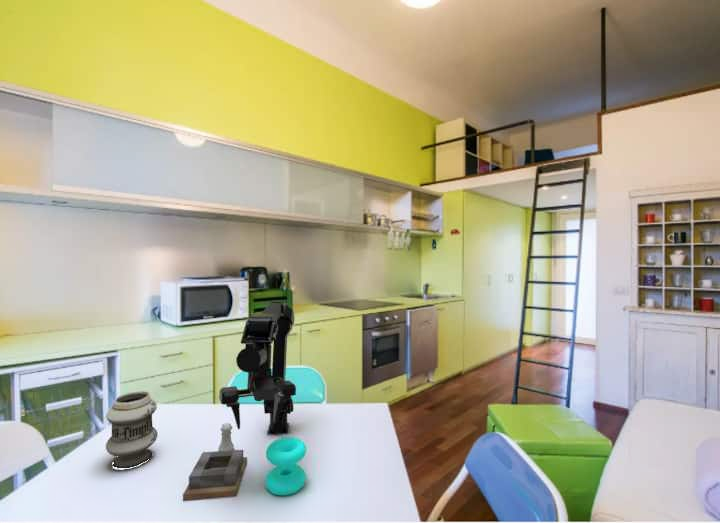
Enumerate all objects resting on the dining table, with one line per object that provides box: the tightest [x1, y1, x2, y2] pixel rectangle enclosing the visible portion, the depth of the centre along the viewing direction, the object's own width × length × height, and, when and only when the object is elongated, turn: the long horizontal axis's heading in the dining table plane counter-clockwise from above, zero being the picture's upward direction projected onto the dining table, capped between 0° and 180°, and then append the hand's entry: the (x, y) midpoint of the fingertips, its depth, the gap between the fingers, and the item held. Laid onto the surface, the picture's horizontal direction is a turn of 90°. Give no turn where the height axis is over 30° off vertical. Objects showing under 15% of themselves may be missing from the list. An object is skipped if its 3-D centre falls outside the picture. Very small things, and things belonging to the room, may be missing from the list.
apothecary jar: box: [105, 390, 158, 468], centre depth 96 cm, size 12×12×18 cm
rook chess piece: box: [217, 422, 235, 451], centre depth 100 cm, size 4×4×8 cm
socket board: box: [182, 449, 248, 502], centre depth 88 cm, size 14×12×4 cm
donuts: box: [264, 436, 307, 496], centre depth 86 cm, size 10×10×10 cm
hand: (257, 425), depth 89 cm, fingers open, 9 cm apart
